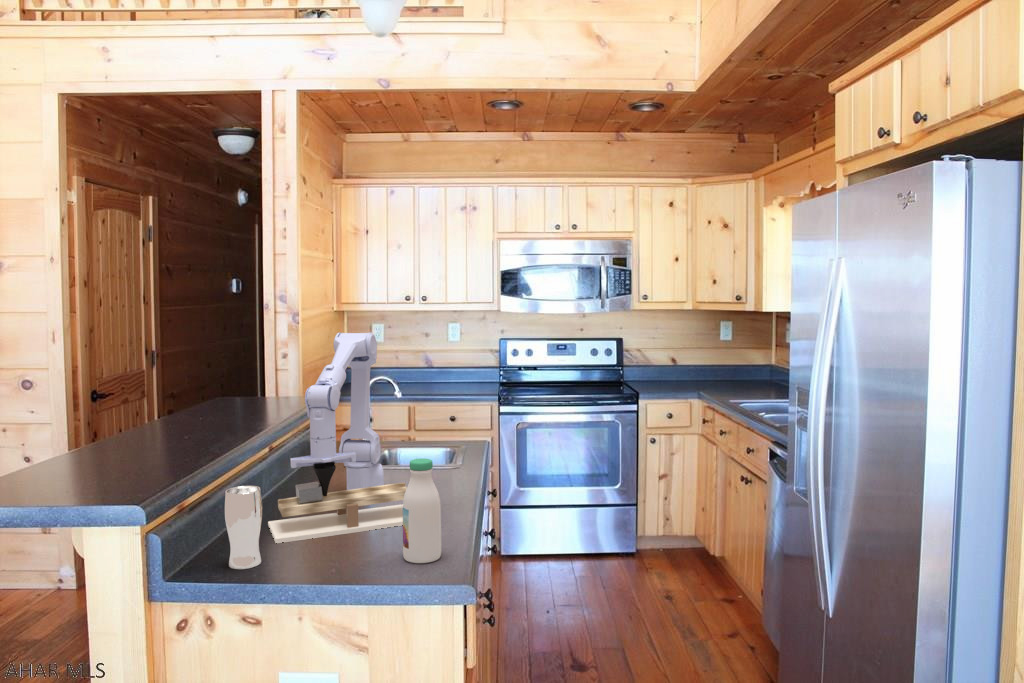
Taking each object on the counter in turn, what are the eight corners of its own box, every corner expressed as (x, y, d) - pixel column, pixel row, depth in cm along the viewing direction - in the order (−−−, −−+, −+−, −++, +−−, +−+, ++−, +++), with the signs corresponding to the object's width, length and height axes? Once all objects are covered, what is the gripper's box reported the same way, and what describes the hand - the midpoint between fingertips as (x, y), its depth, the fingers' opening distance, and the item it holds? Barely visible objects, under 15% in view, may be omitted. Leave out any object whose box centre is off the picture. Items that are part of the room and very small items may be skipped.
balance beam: (403, 492, 180) (403, 481, 180) (414, 501, 172) (414, 490, 172) (278, 510, 168) (277, 499, 168) (283, 521, 160) (282, 509, 160)
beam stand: (409, 507, 184) (408, 483, 183) (426, 522, 171) (426, 497, 171) (268, 525, 170) (267, 500, 169) (275, 543, 157) (274, 516, 156)
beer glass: (232, 558, 148) (230, 485, 147) (267, 557, 149) (265, 484, 148) (221, 571, 141) (219, 494, 140) (258, 569, 142) (256, 493, 141)
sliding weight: (318, 498, 170) (317, 481, 169) (322, 503, 165) (321, 486, 165) (296, 501, 168) (295, 484, 167) (300, 507, 163) (298, 490, 163)
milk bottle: (447, 553, 150) (446, 457, 149) (431, 566, 143) (430, 465, 142) (413, 549, 153) (412, 455, 152) (396, 561, 145) (394, 463, 144)
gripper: (293, 442, 160) (294, 503, 161) (358, 437, 166) (359, 495, 167) (288, 437, 167) (290, 495, 167) (351, 432, 173) (352, 488, 173)
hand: (324, 495), depth 168 cm, fingers closed
